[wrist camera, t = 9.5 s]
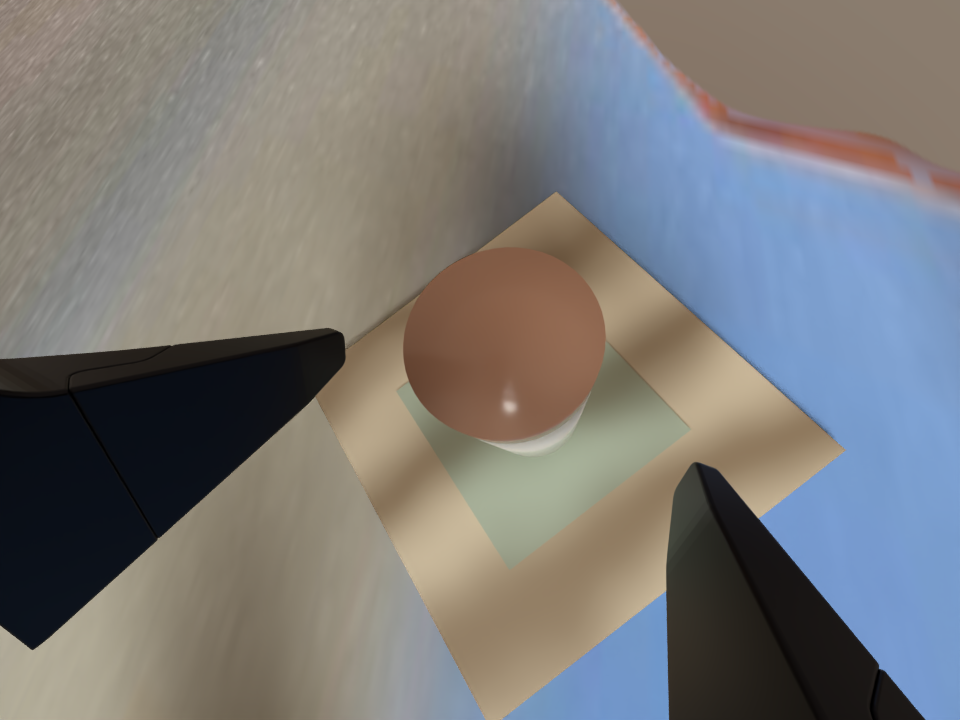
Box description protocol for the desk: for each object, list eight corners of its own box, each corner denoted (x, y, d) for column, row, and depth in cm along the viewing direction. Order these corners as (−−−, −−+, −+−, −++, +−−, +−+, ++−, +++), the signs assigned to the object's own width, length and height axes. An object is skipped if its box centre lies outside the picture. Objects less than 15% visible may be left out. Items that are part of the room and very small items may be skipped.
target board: (836, 450, 15) (847, 450, 14) (492, 719, 14) (489, 730, 14) (556, 197, 21) (556, 190, 20) (312, 381, 20) (305, 379, 20)
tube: (583, 455, 16) (622, 432, 6) (488, 459, 17) (399, 445, 7) (572, 362, 17) (590, 233, 8) (484, 370, 18) (405, 262, 9)
